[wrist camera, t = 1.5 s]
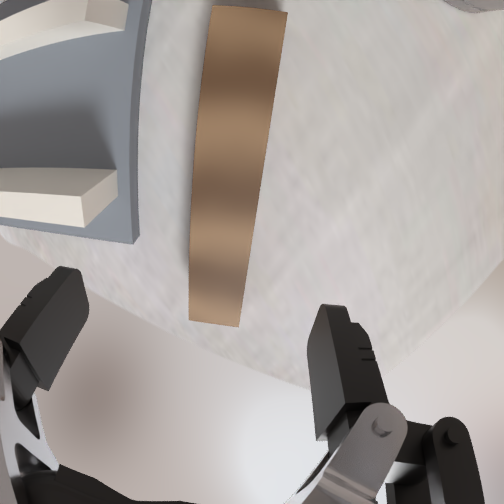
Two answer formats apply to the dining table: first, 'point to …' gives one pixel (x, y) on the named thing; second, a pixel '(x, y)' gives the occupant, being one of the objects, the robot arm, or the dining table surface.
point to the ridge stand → (71, 115)
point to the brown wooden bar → (230, 155)
